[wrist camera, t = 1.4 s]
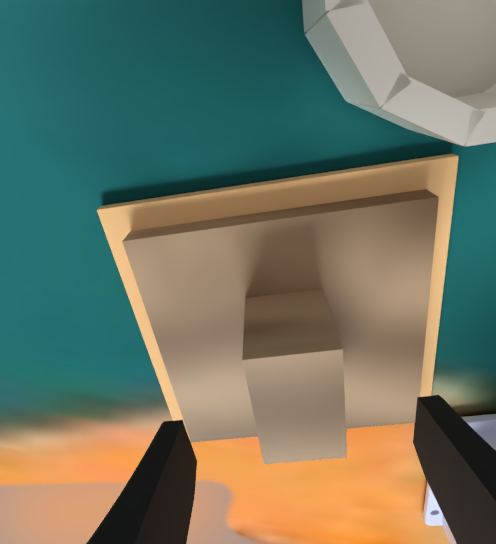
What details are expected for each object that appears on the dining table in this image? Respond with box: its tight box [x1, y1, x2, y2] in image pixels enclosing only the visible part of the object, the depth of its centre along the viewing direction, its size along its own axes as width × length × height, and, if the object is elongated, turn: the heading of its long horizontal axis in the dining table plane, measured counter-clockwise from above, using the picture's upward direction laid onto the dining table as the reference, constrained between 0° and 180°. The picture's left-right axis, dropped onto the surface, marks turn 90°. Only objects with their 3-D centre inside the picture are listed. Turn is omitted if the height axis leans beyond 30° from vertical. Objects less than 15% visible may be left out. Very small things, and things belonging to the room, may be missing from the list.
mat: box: [97, 154, 459, 439], centre depth 16 cm, size 13×13×1 cm
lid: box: [122, 189, 439, 464], centre depth 14 cm, size 11×11×4 cm
